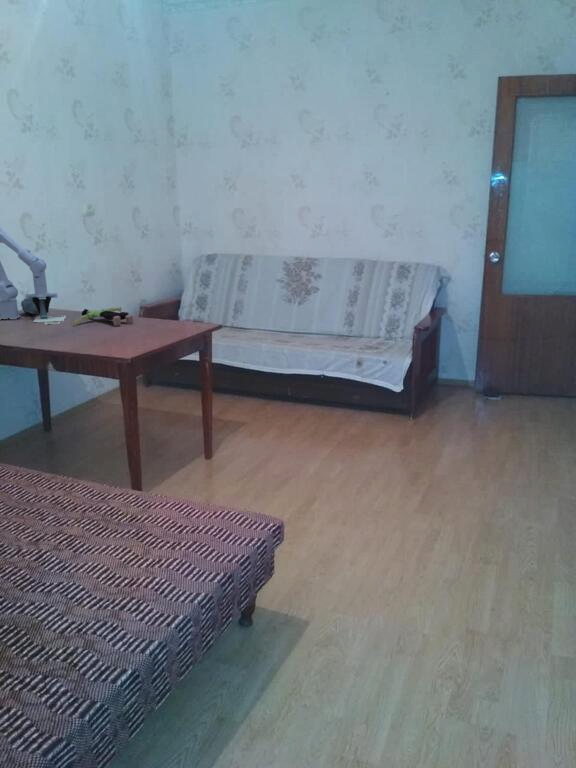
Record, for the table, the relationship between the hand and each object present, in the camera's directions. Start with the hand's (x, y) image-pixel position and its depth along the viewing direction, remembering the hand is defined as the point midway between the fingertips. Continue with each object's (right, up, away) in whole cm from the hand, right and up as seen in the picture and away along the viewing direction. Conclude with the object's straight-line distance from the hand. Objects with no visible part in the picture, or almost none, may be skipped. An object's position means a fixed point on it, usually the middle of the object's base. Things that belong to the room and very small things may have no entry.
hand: (43, 312), depth 307 cm
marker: (0, -3, 0) cm, 3 cm away
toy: (+32, -5, -5) cm, 32 cm away
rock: (-10, +1, +13) cm, 16 cm away
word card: (+8, -6, -9) cm, 14 cm away
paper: (+3, -3, 0) cm, 5 cm away
